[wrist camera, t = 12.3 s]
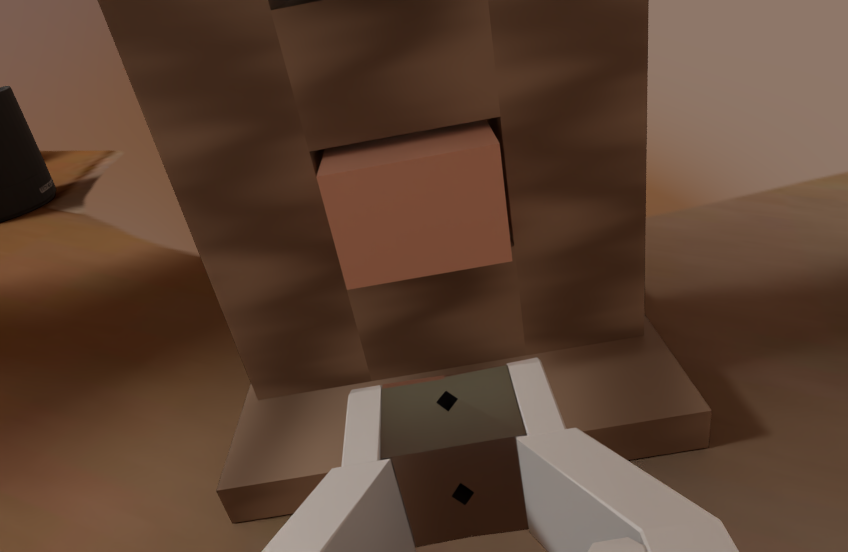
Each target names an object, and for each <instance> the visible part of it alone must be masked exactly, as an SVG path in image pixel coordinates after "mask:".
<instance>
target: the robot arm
mask: <svg viewBox="0 0 848 552" xmlns="http://www.w3.org/2000/svg"><path fill="white" fill-rule="evenodd" d="M527 529H529V532H530V533H531V534H532V535H533V536H534V537H535V538H536V540H537V541H538V542H539V543H540V544H541V545H542V546H543V547H544V548H545V549H546V550H547V551H548V552H739V551H738V549H737V547H736V546H735V544H734V542H733V540H732V539H731V537H730V535H729V534H728V532H727V530H726V528H725V527H724V525H723V523H722V522H721V520H720V519H718V518H717V517H715V516H713V515H712V514H710V513H709V512H707V511H706V510H704V509H702V508H701V507H699V506H698V505H696V504H695V503H693V502H692V501H690V500H688V499H687V498H685V497H684V496H682V495H681V494H679V493H678V492H676V491H674V490H673V489H671V488H670V487H668V486H667V485H665V484H664V483H662V482H660V481H659V480H657V479H656V478H654V477H653V476H651V475H650V474H648V473H646V472H645V471H643V470H642V469H640V468H639V467H637V466H636V465H634V464H632V463H631V462H629V461H628V460H626V459H625V458H623V457H622V456H620V455H618V454H617V453H615V452H614V451H612V450H611V449H609V448H608V447H606V446H604V445H603V444H601V443H600V442H598V441H597V440H595V439H594V438H592V437H590V436H589V435H587V434H586V433H584V432H583V431H581V430H580V429H578V428H570V429H566V426H565V424H564V421H563V418H562V416H561V413H560V410H559V408H558V405H557V402H556V400H555V397H554V394H553V392H552V389H551V386H550V384H549V381H548V378H547V376H546V373H545V370H544V368H543V365H542V362H541V360H540V359H538V358H537V357H536V358H531V359H526V360H521V361H516V362H511V363H507V364H506V365H501V366H495V367H490V368H484V369H478V370H473V371H467V372H461V373H456V374H450V375H442V376H435V377H429V378H422V379H415V380H409V381H402V382H395V383H389V384H383V386H382V385H378V386H371V387H365V388H359V389H353V390H351V392H350V394H349V396H348V403H347V413H346V424H345V434H344V444H343V455H342V465H341V467H337V468H332V469H331V470H330V471H329V472H328V474H327V475H326V476H325V477H324V478H323V479H322V481H321V482H320V483H319V484H318V485H317V487H316V488H315V489H314V490H313V491H312V492H311V494H310V495H309V496H308V497H307V498H306V500H305V501H304V502H303V503H302V504H301V505H300V507H299V508H298V509H297V510H296V511H295V513H294V514H293V515H292V516H291V517H290V518H289V520H288V521H287V522H286V523H285V524H284V526H283V527H282V528H281V529H280V530H279V531H278V533H277V534H276V535H275V536H274V537H273V539H272V540H271V541H270V542H269V543H268V544H267V546H266V547H265V548H264V549H263V550H262V552H416V549H415V547H421V546H426V545H431V544H436V543H442V542H447V541H452V540H457V539H463V538H468V537H474V536H481V535H489V534H496V533H504V532H512V531H519V530H527ZM471 535H472V536H471Z"/></svg>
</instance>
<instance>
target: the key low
mask: <svg viewBox="0 0 848 552" xmlns="http://www.w3.org/2000/svg"><path fill="white" fill-rule="evenodd" d="M316 178H317V182H318V185H319V189H320V193H321V196H322V200H323V204H324V207H325V211H326V215H327V218H328V222H329V226H330V229H331V233H332V237H333V240H334V244H335V248H336V251H337V255H338V259H339V262H340V266H341V270H342V273H343V277H344V281H345V284H346V288H347V290H350V289H355V288H361V287H367V286H373V285H378V284H384V283H390V282H396V281H401V280H407V279H413V278H419V277H424V276H430V275H436V274H442V273H447V272H453V271H459V270H465V269H470V268H476V267H482V266H488V265H494V264H499V263H505V262H511V261H512V252H511V243H510V233H509V224H508V215H507V206H506V197H505V188H504V179H503V170H502V161H501V152H500V143H499V142H498V140H497V138H496V136H495V134H494V133H493V131H492V129H491V127H490V126H489V124H488V122H487V120H486V119H484V120H479V121H473V122H468V123H462V124H457V125H451V126H446V127H441V128H435V129H430V130H424V131H419V132H413V133H408V134H402V135H397V136H391V137H386V138H381V139H375V140H370V141H364V142H359V143H353V144H348V145H342V146H337V147H331V148H326V149H325V151H324V154H323V157H322V161H321V164H320V167H319V170H318V173H317V176H316Z"/></svg>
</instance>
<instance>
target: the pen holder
mask: <svg viewBox="0 0 848 552" xmlns="http://www.w3.org/2000/svg"><path fill="white" fill-rule="evenodd" d="M55 192H56V188H55V185H54V183H53V180H52V178H51V176H50V173H49V171H48V169H47V167H46V164H45V162H44V159H43V157H42V155H41V153H40V151H39V149H38V147H37V144H36V142H35V140H34V138H33V135H32V133H31V131H30V129H29V126H28V124H27V122H26V120H25V118H24V116H23V113H22V111H21V109H20V107H19V105H18V102H17V100H16V98H15V96H14V94H13V91H12V89H11V87H10V86H4V87H1V88H0V222H2V221H5V220H8V219H11V218H14V217H17V216H20V215H23V214H25V213H28V212H30V211H32V210H34V209H37V208H39V207H41V206H42V205H44V204H46V203H47V202H49V201H50V200H52V199H53V198H54V196H55Z"/></svg>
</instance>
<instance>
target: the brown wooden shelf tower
mask: <svg viewBox="0 0 848 552" xmlns="http://www.w3.org/2000/svg"><path fill="white" fill-rule="evenodd" d="M98 2H99V5H100V7H101V10H102V12H103V15H104V17H105V20H106V22H107V25H108V27H109V29H110V32H111V35H112V37H113V39H114V42H115V45H116V47H117V49H118V52H119V55H120V57H121V59H122V62H123V65H124V67H125V70H126V72H127V75H128V77H129V80H130V82H131V85H132V87H133V89H134V92H135V95H136V97H137V99H138V102H139V105H140V107H141V109H142V112H143V115H144V117H145V120H146V122H147V125H148V127H149V129H150V132H151V135H152V137H153V139H154V142H155V145H156V147H157V150H158V152H159V155H160V157H161V160H162V162H163V165H164V167H165V169H166V172H167V174H168V177H169V179H170V182H171V184H172V187H173V190H174V192H175V195H176V197H177V199H178V202H179V205H180V207H181V210H182V212H183V215H184V217H185V220H186V222H187V224H188V227H189V229H190V232H191V234H192V237H193V239H194V242H195V244H196V247H197V249H198V252H199V254H200V257H201V259H202V262H203V264H204V267H205V269H206V272H207V274H208V277H209V279H210V282H211V284H212V287H213V289H214V292H215V294H216V297H217V299H218V302H219V304H220V307H221V309H222V312H223V314H224V317H225V319H226V322H227V324H228V327H229V329H230V332H231V334H232V337H233V339H234V342H235V344H236V347H237V349H238V352H239V354H240V357H241V359H242V362H243V364H244V367H245V369H246V372H247V374H248V377H249V379H250V382H251V384H250V387H249V390H248V393H247V396H246V399H245V402H244V406H243V409H242V412H241V415H240V418H239V421H238V424H237V427H236V431H235V434H234V437H233V440H232V443H231V446H230V449H229V452H228V455H227V459H226V462H225V465H224V468H223V471H222V474H221V477H220V480H219V483H218V487H217V490H216V491H217V493H218V495H219V497H220V499H221V501H222V504H223V506H224V508H225V510H226V512H227V514H228V516H229V518H230V520H231V522H232V523H237V522H243V521H249V520H255V519H262V518H268V517H274V516H280V515H287V514H293V513H295V511H296V510H297V509H298V508H299V507H300V505H301V504H302V503H303V502H304V501H305V500H306V498H307V497H308V496H309V495H310V494H311V492H312V491H313V490H314V489H315V488H316V487H317V485H318V484H319V483H320V482H321V481H322V479H323V478H324V477H325V476H326V475H327V474H328V472H329V471H330V470H331V469H332V468H337V467H341V465H342V455H343V444H344V434H345V424H346V413H347V403H348V396H349V394H350V392H351V390H353V389H359V388H365V387H371V386H378V385H382V386H383V384H389V383H395V382H402V381H409V380H415V379H422V378H429V377H435V376H442V375H450V374H456V373H461V372H467V371H473V370H478V369H484V368H490V367H495V366H501V365H506V364H507V363H511V362H516V361H521V360H526V359H531V358H536V357H537V358H538V359H540V360H541V362H542V365H543V368H544V370H545V373H546V376H547V378H548V381H549V384H550V386H551V389H552V392H553V394H554V397H555V400H556V402H557V405H558V408H559V410H560V413H561V416H562V418H563V421H564V424H565V426H566V429H570V428H578V429H580V430H581V431H583V432H584V433H586V434H587V435H589V436H590V437H592V438H594V439H595V440H597V441H598V442H600V443H601V444H603V445H604V446H606V447H608V448H609V449H611V450H612V451H614V452H615V453H617V454H618V455H620V456H622V457H623V458H625V459H626V460H632V459H638V458H644V457H651V456H657V455H663V454H669V453H676V452H682V451H688V450H694V449H701V448H707V447H709V435H710V424H711V413H712V410H711V409H710V407H709V406H708V405H707V403H706V402H705V400H704V399H703V397H702V396H701V394H700V393H699V392H698V390H697V389H696V387H695V386H694V384H693V383H692V381H691V380H690V379H689V377H688V376H687V374H686V373H685V371H684V370H683V369H682V367H681V366H680V364H679V363H678V361H677V360H676V358H675V357H674V356H673V354H672V353H671V351H670V350H669V348H668V347H667V346H666V344H665V343H664V341H663V340H662V338H661V337H660V335H659V334H658V333H657V331H656V330H655V328H654V327H653V325H652V324H651V323H650V321H649V320H648V318H647V317H646V315H645V314H644V291H645V217H646V144H647V69H648V64H647V63H648V0H98ZM484 119H486V120H487V122H488V124H489V126H490V127H491V129H492V131H493V133H494V134H495V136H496V138H497V140H498V142H499V143H500V152H501V161H502V170H503V179H504V188H505V197H506V206H507V215H508V224H509V233H510V243H511V252H512V261H511V262H505V263H499V264H494V265H488V266H482V267H476V268H470V269H465V270H459V271H453V272H447V273H442V274H436V275H430V276H424V277H419V278H413V279H407V280H401V281H396V282H390V283H384V284H378V285H373V286H367V287H361V288H355V289H350V290H347V288H346V284H345V281H344V277H343V273H342V270H341V266H340V262H339V259H338V255H337V251H336V248H335V244H334V240H333V237H332V233H331V229H330V226H329V222H328V218H327V215H326V211H325V207H324V204H323V200H322V196H321V193H320V189H319V185H318V182H317V178H316V176H317V173H318V170H319V167H320V164H321V161H322V157H323V154H324V151H325V149H326V148H331V147H337V146H342V145H348V144H353V143H359V142H364V141H370V140H375V139H381V138H386V137H391V136H397V135H402V134H408V133H413V132H419V131H424V130H430V129H435V128H441V127H446V126H451V125H457V124H462V123H468V122H473V121H479V120H484Z"/></svg>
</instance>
